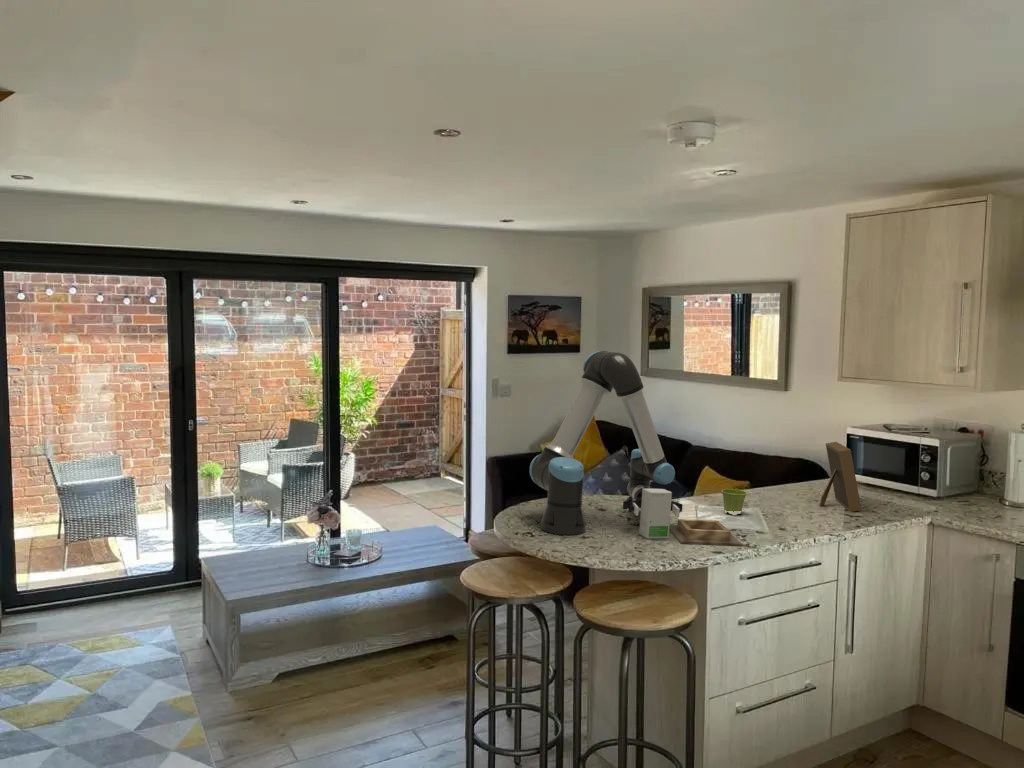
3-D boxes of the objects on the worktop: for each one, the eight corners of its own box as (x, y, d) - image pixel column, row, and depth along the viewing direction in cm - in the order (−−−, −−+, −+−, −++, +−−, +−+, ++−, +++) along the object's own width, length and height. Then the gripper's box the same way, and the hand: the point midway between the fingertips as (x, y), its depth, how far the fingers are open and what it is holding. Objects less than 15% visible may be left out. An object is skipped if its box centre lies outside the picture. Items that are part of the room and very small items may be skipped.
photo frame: (846, 500, 322) (850, 442, 320) (861, 512, 300) (865, 450, 298) (809, 498, 324) (813, 440, 322) (822, 509, 303) (826, 448, 301)
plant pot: (746, 517, 282) (748, 495, 282) (720, 515, 284) (722, 492, 284) (744, 512, 292) (745, 490, 291) (719, 509, 293) (720, 487, 293)
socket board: (680, 543, 243) (681, 532, 243) (666, 527, 263) (667, 516, 263) (741, 546, 244) (742, 534, 243) (723, 529, 264) (723, 518, 263)
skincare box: (646, 539, 247) (649, 492, 246) (638, 533, 253) (640, 488, 252) (669, 538, 249) (672, 492, 248) (660, 533, 255) (663, 487, 254)
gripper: (678, 509, 269) (694, 525, 248) (609, 506, 269) (619, 522, 247) (679, 488, 269) (696, 502, 248) (610, 485, 268) (620, 499, 247)
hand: (657, 512), depth 248 cm, fingers open, 13 cm apart
